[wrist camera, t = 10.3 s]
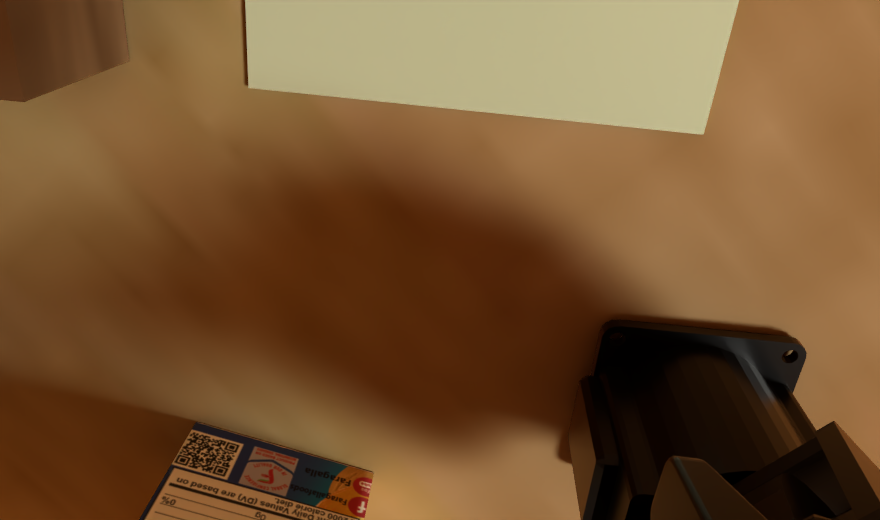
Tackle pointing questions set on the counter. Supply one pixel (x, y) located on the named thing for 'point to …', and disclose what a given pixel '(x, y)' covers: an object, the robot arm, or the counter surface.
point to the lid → (501, 55)
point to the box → (57, 44)
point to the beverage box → (255, 482)
